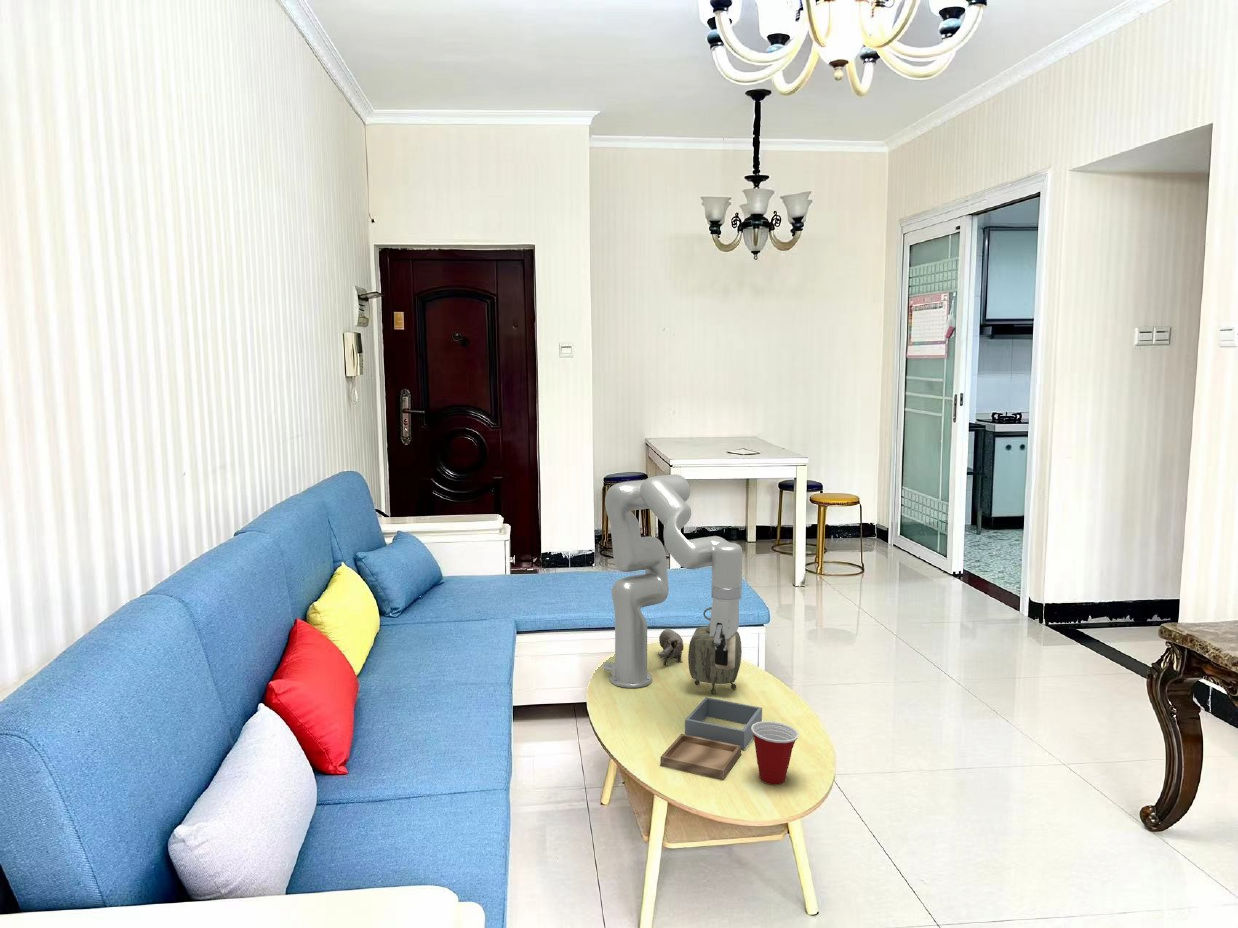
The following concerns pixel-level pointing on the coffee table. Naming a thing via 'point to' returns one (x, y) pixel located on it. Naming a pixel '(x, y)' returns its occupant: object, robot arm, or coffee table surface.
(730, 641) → the beige grooved cylinder
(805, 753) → the coffee table surface
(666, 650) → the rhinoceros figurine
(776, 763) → the plastic cup
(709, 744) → the tray
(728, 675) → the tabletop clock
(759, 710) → the grey square frame
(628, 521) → the robot arm
